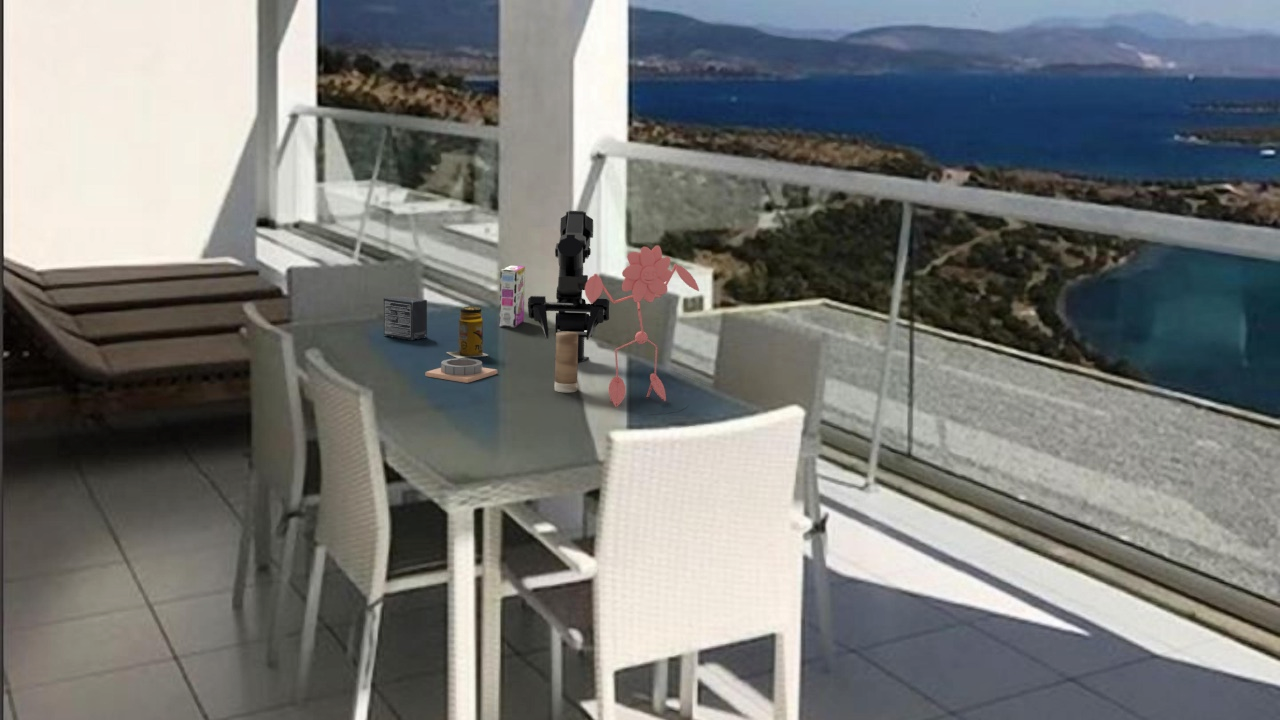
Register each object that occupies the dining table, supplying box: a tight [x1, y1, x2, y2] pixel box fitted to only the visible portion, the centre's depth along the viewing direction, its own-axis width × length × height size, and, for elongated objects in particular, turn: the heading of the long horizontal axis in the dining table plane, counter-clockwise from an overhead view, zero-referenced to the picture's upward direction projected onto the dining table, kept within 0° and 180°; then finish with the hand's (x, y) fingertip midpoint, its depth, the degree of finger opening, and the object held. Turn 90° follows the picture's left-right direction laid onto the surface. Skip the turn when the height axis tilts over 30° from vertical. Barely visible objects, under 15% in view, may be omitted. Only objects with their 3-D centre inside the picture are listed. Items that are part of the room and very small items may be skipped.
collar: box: [424, 357, 498, 384], centre depth 304 cm, size 12×12×3 cm
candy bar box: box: [498, 265, 526, 329], centre depth 369 cm, size 11×5×16 cm, turn 172°
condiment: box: [446, 306, 489, 359], centre depth 326 cm, size 7×8×12 cm
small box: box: [383, 295, 428, 341], centre depth 347 cm, size 11×6×10 cm, turn 58°
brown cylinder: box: [554, 331, 579, 393], centre depth 291 cm, size 5×5×13 cm
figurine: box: [584, 245, 700, 408], centre depth 275 cm, size 15×26×35 cm, turn 118°
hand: (567, 338), depth 294 cm, fingers open, 9 cm apart
